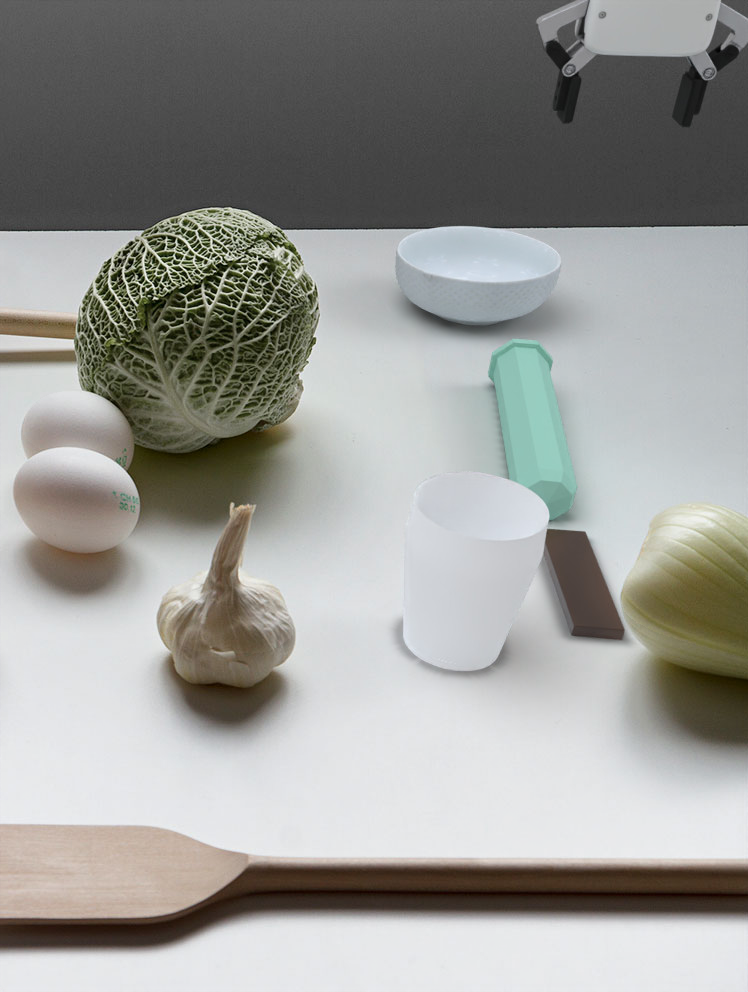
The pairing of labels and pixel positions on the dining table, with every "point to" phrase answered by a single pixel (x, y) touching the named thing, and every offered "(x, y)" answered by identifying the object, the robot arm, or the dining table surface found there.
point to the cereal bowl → (476, 273)
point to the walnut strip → (581, 585)
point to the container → (533, 423)
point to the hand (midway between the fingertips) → (621, 121)
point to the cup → (468, 566)
